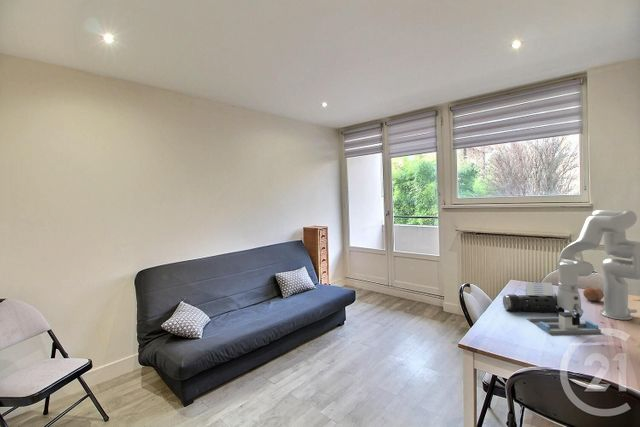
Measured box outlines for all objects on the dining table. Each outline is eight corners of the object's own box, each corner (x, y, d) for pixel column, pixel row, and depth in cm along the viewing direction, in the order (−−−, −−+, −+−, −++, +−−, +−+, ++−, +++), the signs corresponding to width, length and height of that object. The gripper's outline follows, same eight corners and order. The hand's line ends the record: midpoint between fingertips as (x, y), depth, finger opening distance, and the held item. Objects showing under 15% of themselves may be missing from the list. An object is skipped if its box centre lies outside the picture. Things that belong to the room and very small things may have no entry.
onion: (585, 303, 192) (578, 287, 196) (603, 301, 189) (596, 285, 193) (590, 303, 184) (582, 286, 188) (609, 300, 181) (601, 283, 185)
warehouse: (526, 290, 214) (526, 280, 214) (551, 293, 206) (551, 282, 206) (525, 303, 190) (525, 292, 189) (554, 307, 182) (554, 295, 181)
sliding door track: (571, 319, 164) (571, 312, 163) (604, 336, 144) (604, 328, 144) (526, 320, 165) (526, 313, 165) (552, 337, 145) (552, 329, 145)
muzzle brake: (564, 316, 168) (564, 298, 167) (508, 315, 174) (508, 297, 173) (554, 310, 177) (554, 293, 177) (502, 308, 183) (502, 292, 182)
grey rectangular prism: (571, 327, 153) (571, 312, 152) (577, 331, 149) (577, 315, 148) (558, 327, 153) (558, 312, 153) (564, 331, 149) (564, 315, 149)
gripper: (590, 292, 141) (590, 328, 142) (562, 281, 158) (563, 313, 159) (573, 293, 141) (573, 328, 142) (548, 282, 158) (548, 314, 159)
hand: (568, 320), depth 151 cm, fingers open, 9 cm apart
